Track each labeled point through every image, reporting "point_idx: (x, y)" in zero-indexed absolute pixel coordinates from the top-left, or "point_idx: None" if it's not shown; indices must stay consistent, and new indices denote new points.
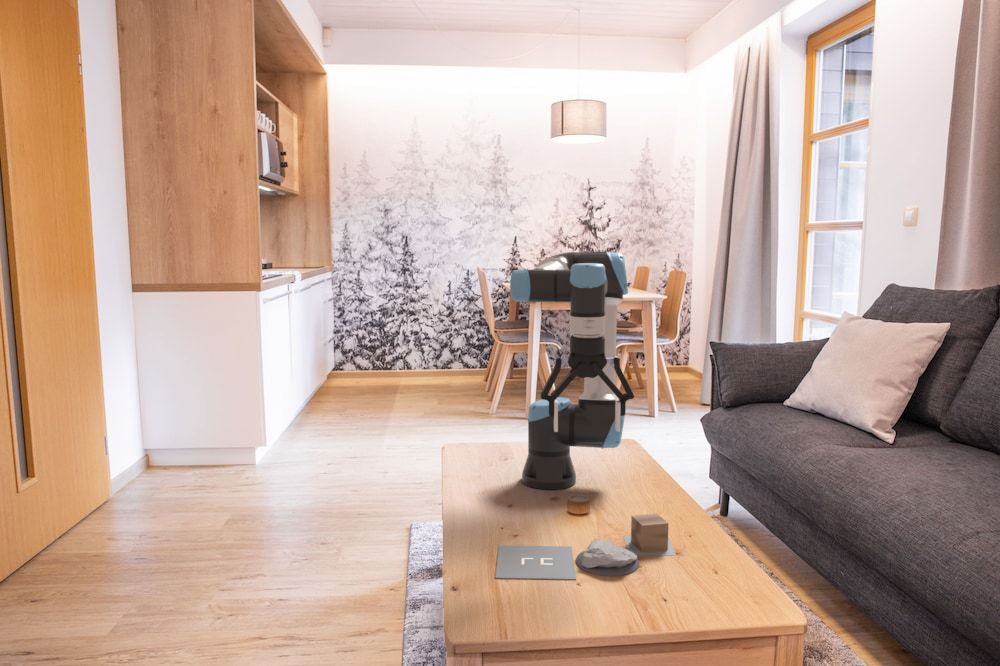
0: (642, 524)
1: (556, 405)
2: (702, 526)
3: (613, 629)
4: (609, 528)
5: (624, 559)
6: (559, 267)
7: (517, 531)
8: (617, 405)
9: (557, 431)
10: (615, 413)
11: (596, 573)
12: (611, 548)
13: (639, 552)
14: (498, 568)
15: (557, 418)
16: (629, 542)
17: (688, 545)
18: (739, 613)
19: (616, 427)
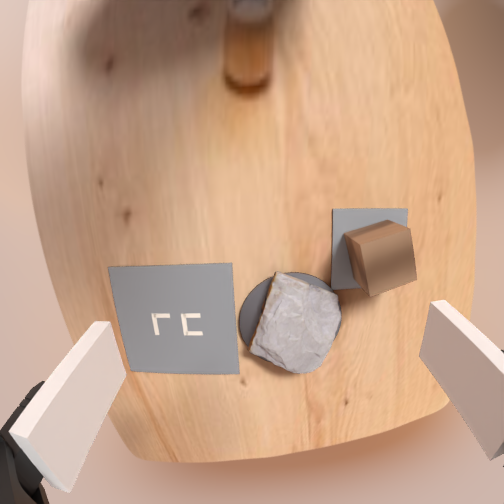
0: (371, 291)
1: (68, 478)
2: (462, 155)
3: (277, 452)
4: (309, 162)
5: (315, 367)
6: None
7: (128, 195)
8: (484, 446)
9: (124, 375)
10: (473, 353)
11: (269, 361)
12: (299, 347)
13: (349, 278)
14: (127, 347)
15: (101, 422)
16: (340, 236)
17: (428, 238)
18: (408, 409)
19: (428, 357)
